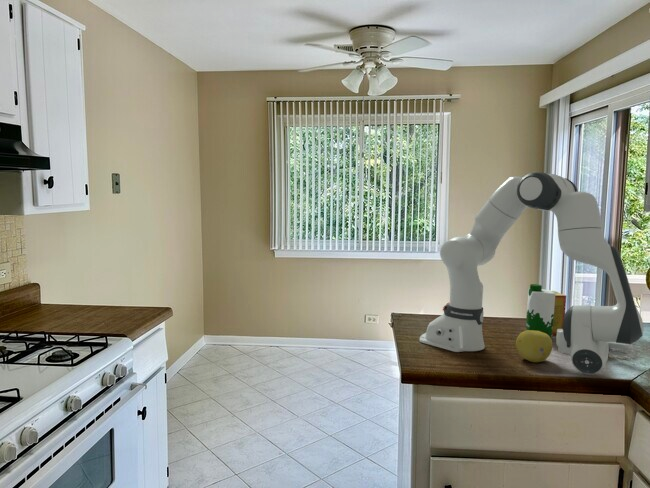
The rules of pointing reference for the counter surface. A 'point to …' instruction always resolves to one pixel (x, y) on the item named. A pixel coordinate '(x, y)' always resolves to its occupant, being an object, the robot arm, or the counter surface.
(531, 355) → the fruit
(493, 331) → the counter surface
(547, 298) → the milk carton
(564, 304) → the baking soda box
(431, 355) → the counter surface
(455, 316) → the robot arm
